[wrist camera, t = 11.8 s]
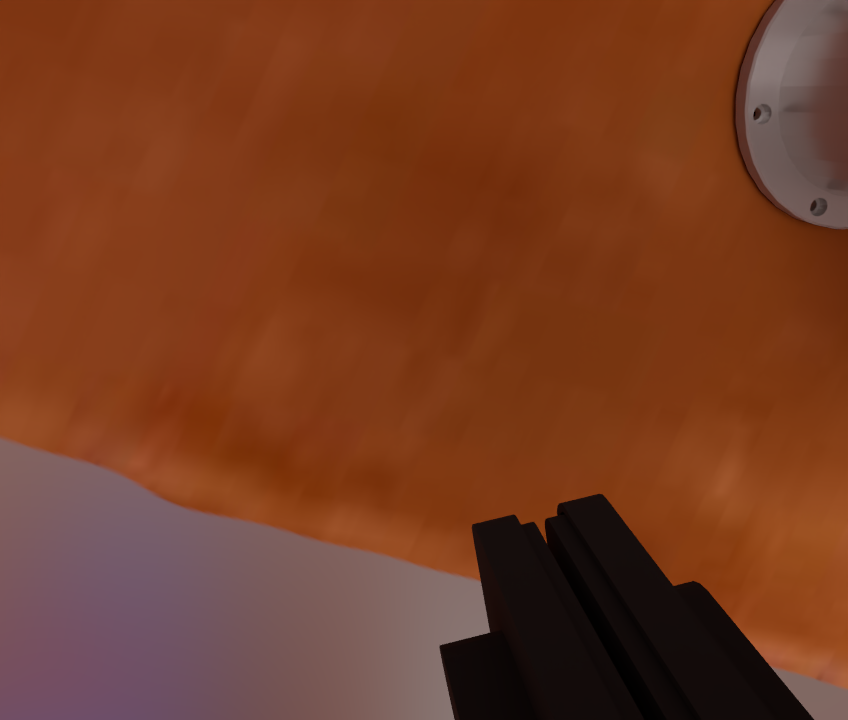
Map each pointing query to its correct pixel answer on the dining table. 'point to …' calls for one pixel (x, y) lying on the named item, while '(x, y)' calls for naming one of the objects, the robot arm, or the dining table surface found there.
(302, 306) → the dining table surface
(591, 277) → the dining table surface
